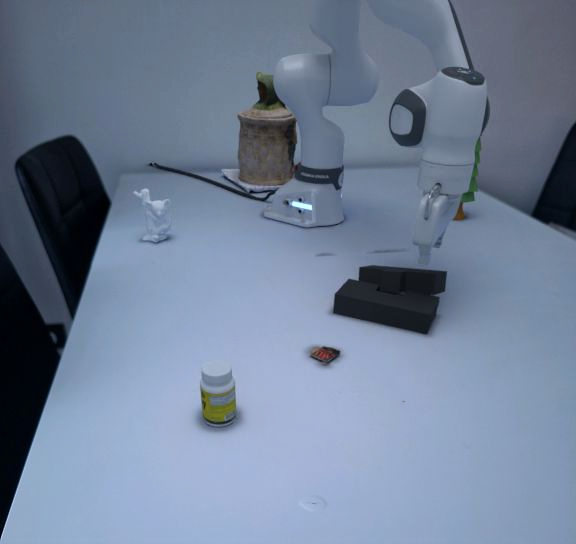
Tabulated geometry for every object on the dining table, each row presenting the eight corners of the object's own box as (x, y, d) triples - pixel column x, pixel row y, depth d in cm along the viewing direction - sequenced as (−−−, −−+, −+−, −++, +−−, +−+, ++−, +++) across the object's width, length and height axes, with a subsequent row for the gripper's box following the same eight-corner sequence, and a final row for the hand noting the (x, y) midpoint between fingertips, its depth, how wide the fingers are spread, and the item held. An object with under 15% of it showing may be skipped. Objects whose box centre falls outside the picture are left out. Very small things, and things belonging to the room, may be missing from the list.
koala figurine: (135, 243, 129) (128, 192, 122) (145, 233, 135) (138, 185, 128) (169, 245, 129) (164, 194, 122) (177, 235, 134) (172, 186, 127)
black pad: (352, 288, 106) (353, 267, 105) (371, 284, 113) (372, 265, 112) (429, 296, 97) (431, 274, 96) (444, 291, 104) (447, 271, 103)
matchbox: (341, 351, 90) (341, 348, 89) (331, 366, 86) (331, 363, 86) (316, 345, 91) (316, 342, 91) (304, 359, 87) (304, 356, 87)
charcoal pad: (333, 313, 101) (334, 293, 99) (347, 296, 107) (348, 278, 105) (426, 334, 95) (430, 314, 93) (435, 315, 101) (439, 296, 99)
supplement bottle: (203, 407, 76) (199, 357, 72) (236, 406, 77) (234, 357, 72) (202, 428, 73) (197, 377, 68) (236, 427, 73) (234, 376, 68)
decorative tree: (435, 218, 151) (457, 99, 134) (440, 209, 158) (461, 95, 141) (470, 223, 148) (497, 101, 131) (474, 213, 155) (500, 97, 138)
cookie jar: (248, 194, 166) (246, 76, 147) (219, 176, 183) (214, 68, 165) (317, 186, 175) (323, 75, 157) (283, 169, 193) (285, 67, 175)
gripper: (449, 195, 83) (433, 278, 91) (473, 168, 98) (457, 241, 106) (410, 189, 85) (397, 270, 93) (439, 163, 100) (426, 235, 108)
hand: (430, 254), depth 99 cm, fingers open, 8 cm apart
